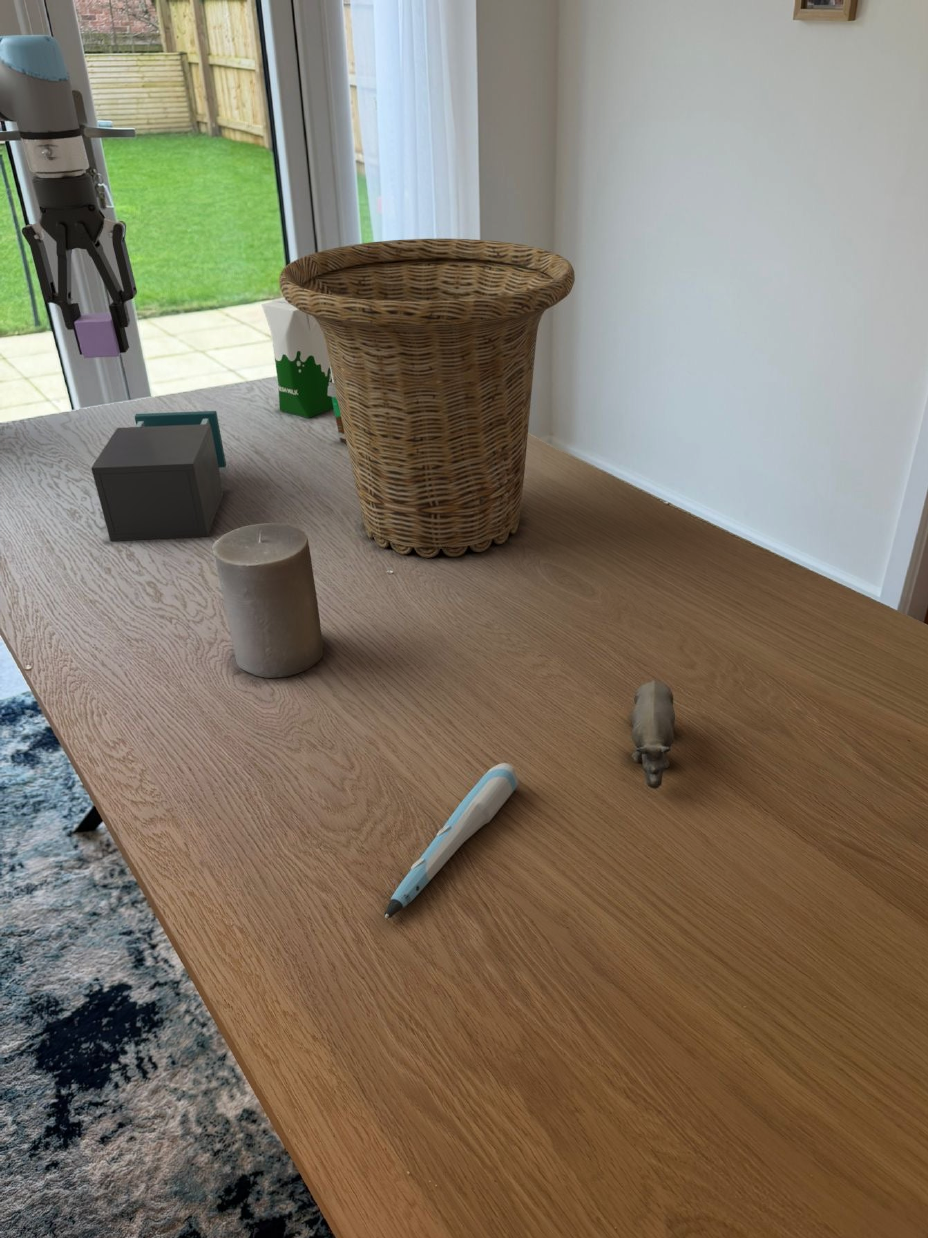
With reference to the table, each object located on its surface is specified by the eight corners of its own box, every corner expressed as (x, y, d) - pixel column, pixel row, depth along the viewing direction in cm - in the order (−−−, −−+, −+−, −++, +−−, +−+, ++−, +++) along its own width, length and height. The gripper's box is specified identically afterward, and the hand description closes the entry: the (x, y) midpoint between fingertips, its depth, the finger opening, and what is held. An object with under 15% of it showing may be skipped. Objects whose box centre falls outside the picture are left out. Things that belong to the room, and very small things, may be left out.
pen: (491, 780, 95) (490, 756, 93) (521, 790, 94) (521, 766, 92) (371, 918, 81) (367, 892, 79) (405, 932, 80) (402, 906, 78)
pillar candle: (323, 629, 118) (307, 507, 109) (324, 674, 110) (306, 547, 101) (237, 636, 116) (213, 514, 108) (231, 683, 108) (205, 555, 100)
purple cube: (83, 358, 148) (74, 322, 145) (91, 348, 152) (82, 313, 149) (118, 356, 148) (110, 320, 145) (126, 347, 152) (118, 312, 149)
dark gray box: (133, 496, 149) (117, 427, 143) (223, 492, 150) (210, 423, 144) (110, 541, 137) (90, 467, 131) (207, 536, 138) (192, 463, 132)
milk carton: (344, 406, 180) (331, 287, 169) (307, 421, 174) (291, 298, 163) (308, 397, 185) (293, 280, 173) (271, 411, 178) (253, 290, 167)
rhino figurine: (626, 806, 92) (630, 753, 88) (630, 717, 103) (633, 667, 100) (673, 809, 91) (678, 756, 88) (671, 720, 103) (676, 669, 99)
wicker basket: (485, 457, 160) (478, 227, 141) (621, 539, 136) (635, 275, 117) (274, 509, 145) (234, 258, 126) (385, 611, 121) (357, 320, 102)
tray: (155, 453, 160) (144, 400, 155) (231, 450, 161) (222, 397, 156) (128, 504, 144) (114, 447, 139) (212, 500, 145) (201, 443, 140)
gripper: (-19, 179, 132) (33, 361, 146) (123, 174, 134) (162, 355, 147) (-1, 171, 139) (48, 346, 152) (135, 167, 140) (172, 341, 153)
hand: (104, 350), depth 150 cm, fingers closed on purple cube, 5 cm apart
